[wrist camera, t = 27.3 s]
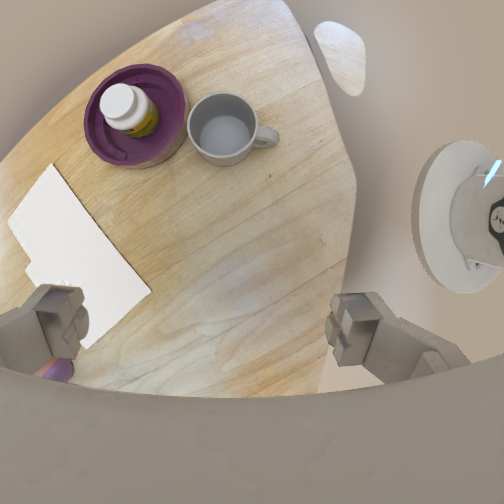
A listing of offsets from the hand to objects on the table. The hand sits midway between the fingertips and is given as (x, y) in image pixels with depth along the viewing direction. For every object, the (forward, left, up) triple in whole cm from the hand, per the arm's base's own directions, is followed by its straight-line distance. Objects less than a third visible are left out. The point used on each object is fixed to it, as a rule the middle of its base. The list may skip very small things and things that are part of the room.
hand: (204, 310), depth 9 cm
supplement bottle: (+13, -13, -30) cm, 35 cm away
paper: (+24, +6, -31) cm, 40 cm away
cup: (0, -11, -31) cm, 33 cm away
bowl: (+13, -13, -31) cm, 36 cm away
